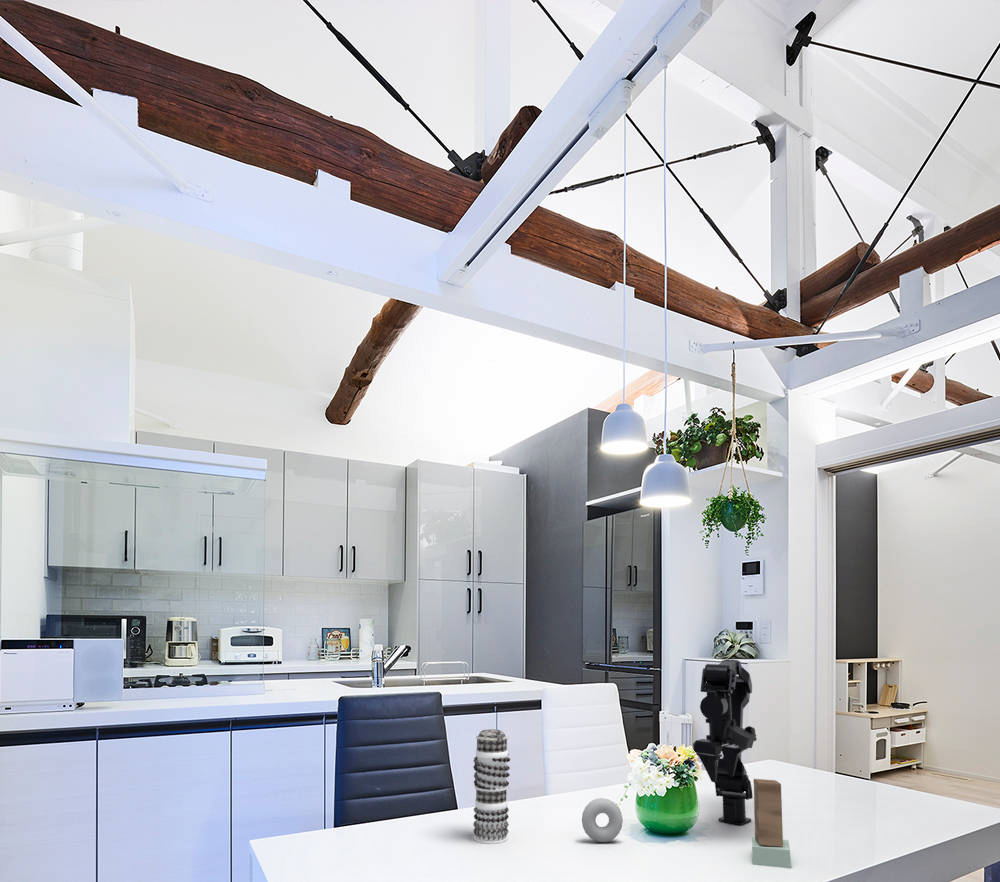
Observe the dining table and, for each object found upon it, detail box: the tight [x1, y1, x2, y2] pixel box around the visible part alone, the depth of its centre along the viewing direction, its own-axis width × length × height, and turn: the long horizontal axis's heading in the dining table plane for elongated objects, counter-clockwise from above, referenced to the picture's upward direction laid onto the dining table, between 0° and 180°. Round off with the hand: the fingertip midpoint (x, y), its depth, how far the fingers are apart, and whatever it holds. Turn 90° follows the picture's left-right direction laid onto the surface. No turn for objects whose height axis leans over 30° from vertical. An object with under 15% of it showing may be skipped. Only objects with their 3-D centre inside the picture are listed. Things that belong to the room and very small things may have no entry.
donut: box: [581, 797, 624, 843], centre depth 192 cm, size 10×3×10 cm, turn 92°
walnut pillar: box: [753, 778, 784, 847], centre depth 180 cm, size 5×5×13 cm
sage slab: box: [751, 836, 792, 869], centre depth 179 cm, size 8×8×4 cm
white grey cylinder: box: [472, 728, 511, 845], centre depth 195 cm, size 9×9×25 cm
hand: (722, 779), depth 200 cm, fingers open, 9 cm apart
